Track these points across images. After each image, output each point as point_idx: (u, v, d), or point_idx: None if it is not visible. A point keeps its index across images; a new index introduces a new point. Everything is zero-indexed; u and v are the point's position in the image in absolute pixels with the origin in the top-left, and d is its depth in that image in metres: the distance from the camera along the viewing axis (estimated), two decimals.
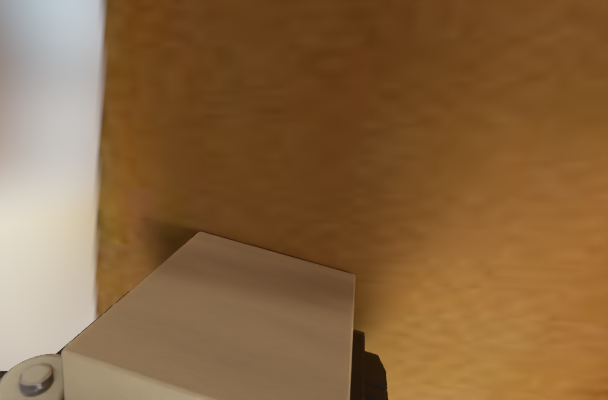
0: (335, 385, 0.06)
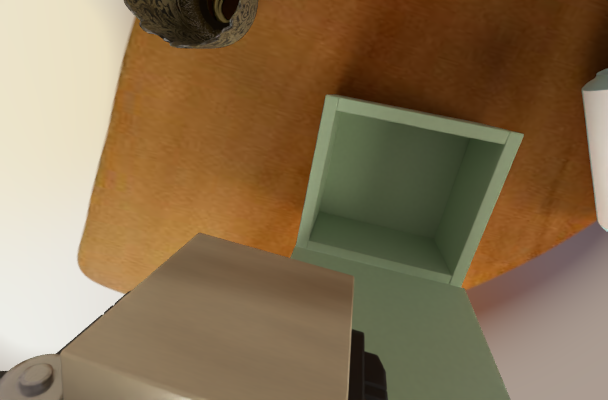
0: (333, 387, 0.06)
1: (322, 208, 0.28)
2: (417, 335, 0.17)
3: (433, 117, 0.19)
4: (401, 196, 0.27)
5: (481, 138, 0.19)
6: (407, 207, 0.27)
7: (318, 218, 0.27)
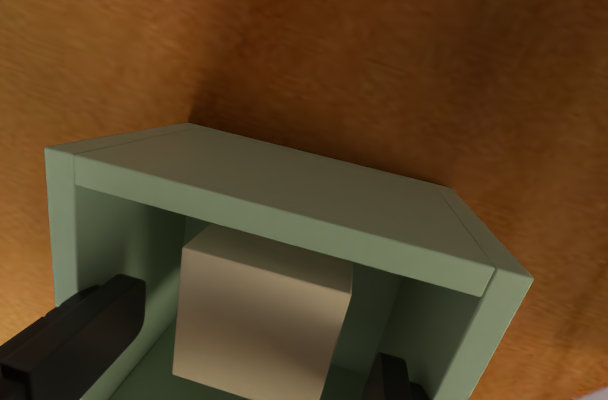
0: (343, 272, 0.10)
1: None
2: None
3: (299, 218, 0.07)
4: None
5: (422, 277, 0.07)
6: None
7: (161, 339, 0.15)
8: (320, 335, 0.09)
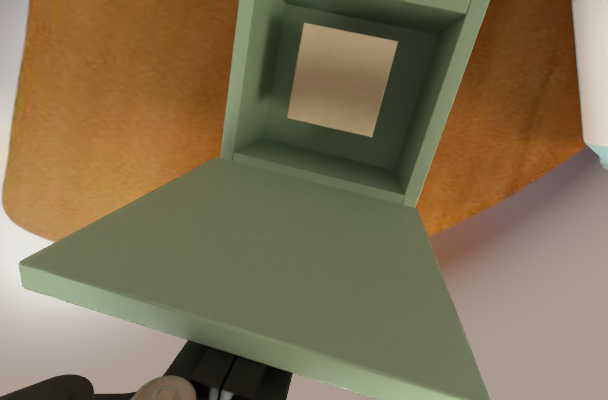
0: None
1: (266, 134, 0.24)
2: (341, 234, 0.13)
3: None
4: None
5: (437, 5, 0.15)
6: None
7: (258, 141, 0.23)
8: (379, 71, 0.17)
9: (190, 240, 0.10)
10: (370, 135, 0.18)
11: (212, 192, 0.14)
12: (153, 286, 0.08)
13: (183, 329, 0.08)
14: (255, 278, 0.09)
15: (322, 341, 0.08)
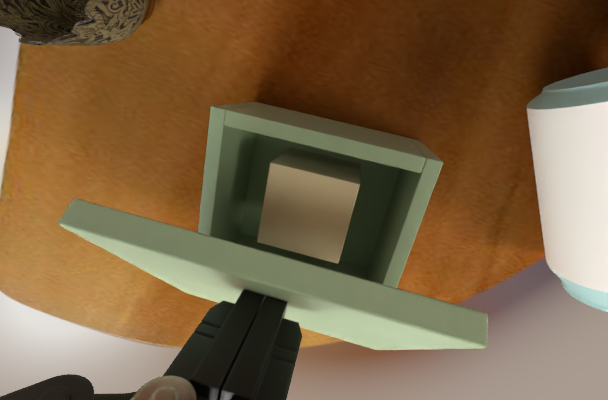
0: (355, 178, 0.18)
1: (244, 230, 0.25)
2: None
3: (336, 137, 0.16)
4: None
5: (393, 165, 0.16)
6: None
7: (235, 242, 0.24)
8: (343, 209, 0.18)
9: None
10: (336, 262, 0.19)
11: None
12: None
13: (214, 256, 0.09)
14: None
15: None
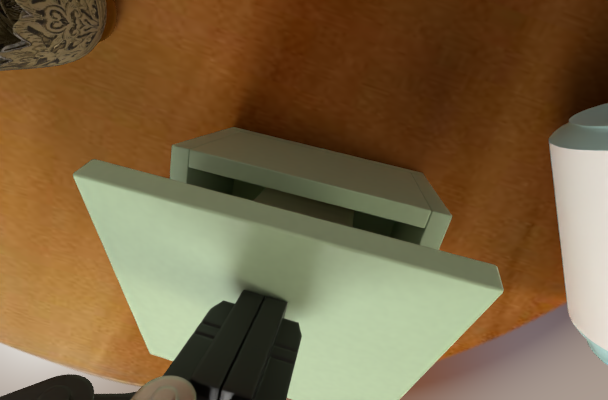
0: (347, 224, 0.15)
1: None
2: None
3: (322, 184, 0.13)
4: None
5: (391, 218, 0.13)
6: None
7: None
8: None
9: None
10: None
11: None
12: None
13: (230, 207, 0.09)
14: None
15: None
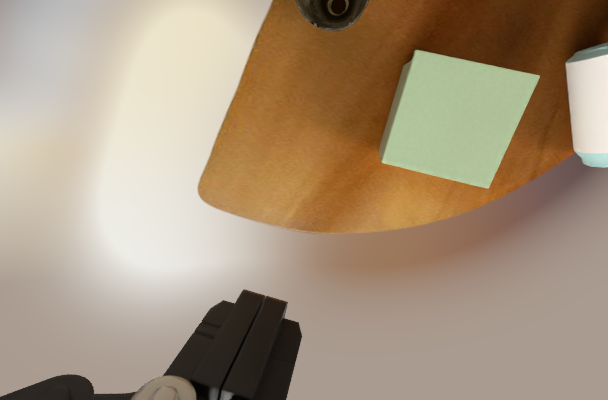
0: None
1: None
2: None
3: None
4: None
5: None
6: None
7: None
8: None
9: None
10: None
11: None
12: None
13: (462, 59, 0.31)
14: None
15: None
